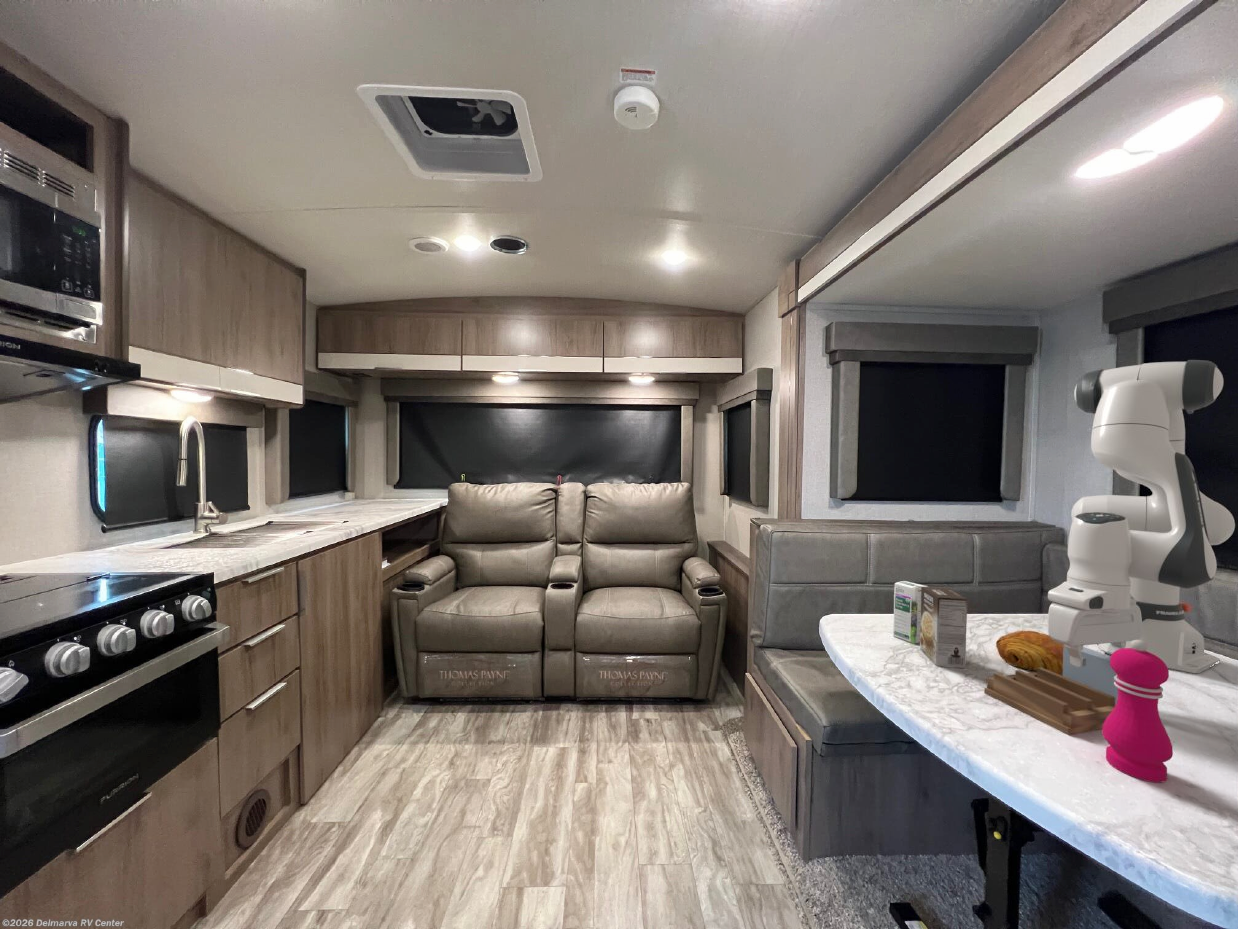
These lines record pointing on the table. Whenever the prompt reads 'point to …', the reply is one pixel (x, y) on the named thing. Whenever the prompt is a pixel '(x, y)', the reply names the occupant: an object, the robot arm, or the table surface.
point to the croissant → (1031, 651)
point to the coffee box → (943, 626)
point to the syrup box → (907, 611)
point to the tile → (1092, 671)
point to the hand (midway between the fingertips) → (1095, 663)
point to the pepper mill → (1138, 715)
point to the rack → (1053, 699)
